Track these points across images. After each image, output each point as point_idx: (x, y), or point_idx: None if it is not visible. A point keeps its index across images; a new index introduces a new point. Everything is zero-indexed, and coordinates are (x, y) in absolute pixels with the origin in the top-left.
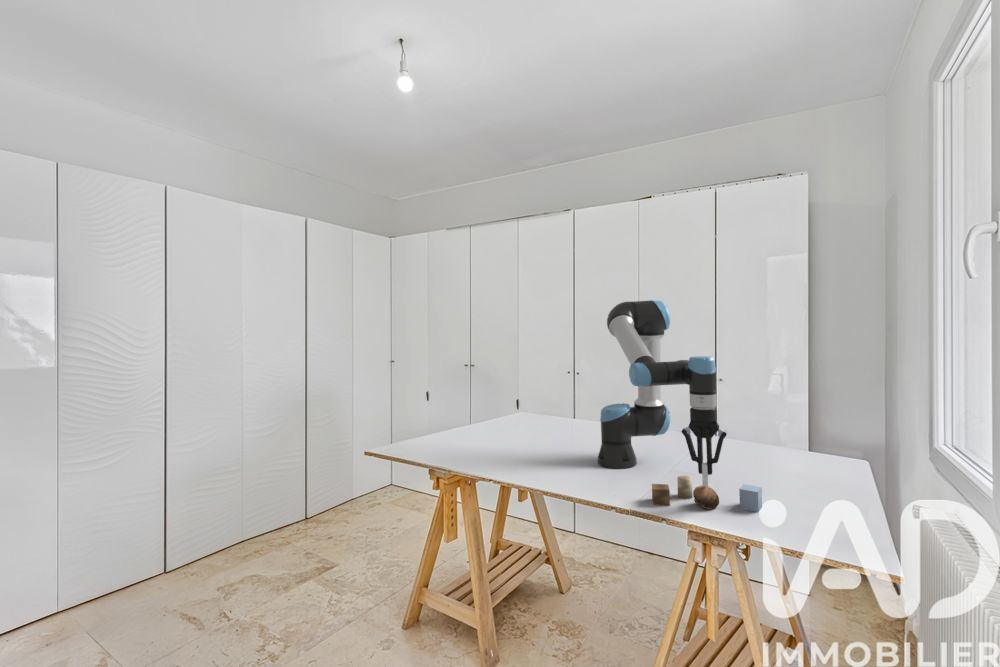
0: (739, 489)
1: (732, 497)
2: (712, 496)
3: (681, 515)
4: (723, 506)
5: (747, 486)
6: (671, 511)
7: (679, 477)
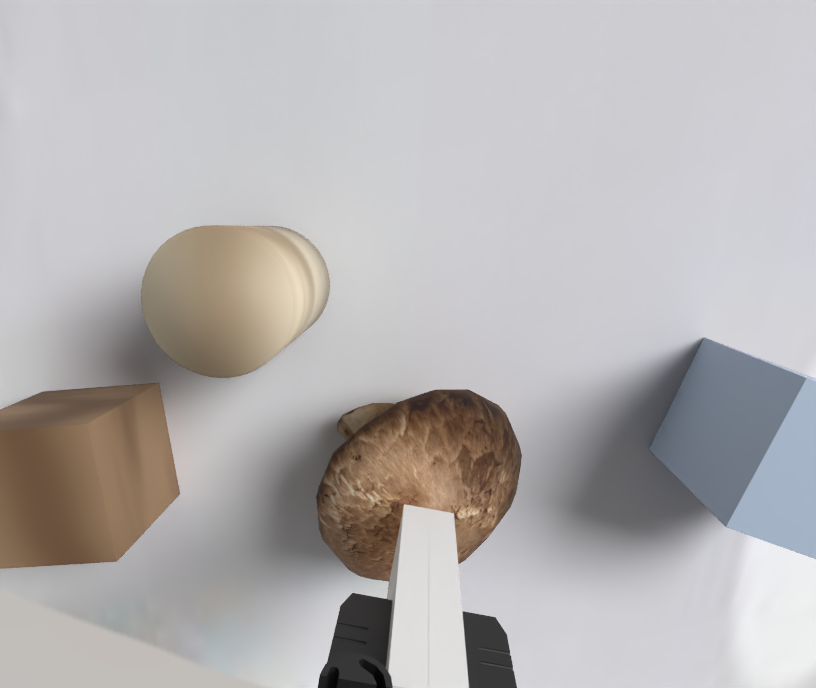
0: (724, 524)
1: (642, 221)
2: (468, 552)
3: (261, 634)
4: (540, 432)
5: None
6: (198, 586)
7: (163, 296)
